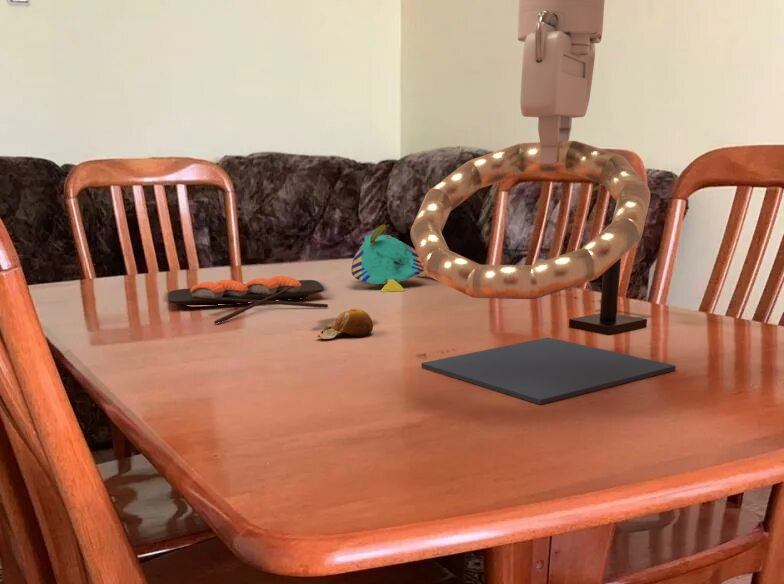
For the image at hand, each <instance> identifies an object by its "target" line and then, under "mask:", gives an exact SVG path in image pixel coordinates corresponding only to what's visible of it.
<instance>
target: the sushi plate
mask: <svg viewBox="0 0 784 584" xmlns="http://www.w3.org/2000/svg"><path fill="white" fill-rule="evenodd" d="M324 291H325V287H324V286H323V285H322V284H321V283H320V282H319V281H318V280H315V279H300V280H299V279H298V280H297V279H296V278H294V277H290V276H286V275H275V276H272V277H270V278H265V277H259V278H254V279H251V280H248V281H247V282H246V283H245V284H244V283H243V282H241V281H238V280H234V279H222V280H218V281H216V282H210V281H204V282H200V283H197V284H194V285H193V286H192V287H191V288H180V289H174V290H171V291H170V292H168V297H167V298H168V301H169V302H170V303H171V304H179V305H185V306H186V305H218V304H236V305H238V304H237V303H248V302H254V303H250V304H249V305H247V306H245V307H242V308H240V309H238V310H236V311H233V312H230V313H228V314H227V315H224V316H222V317H220V318H217V319H215V320H214V324H215V323H218V322H222V321H224V322H225V321H228V320H230V319H233V318H234V317H236V316H238V315H241V314H242V313H244V312H246V311H248V310H250V309H252V308H254V307H256V306H258V305H260V304H269V305H280V306H281V305H282V306H293V307H294V306H295V307H309V308H321V307H327V308H329V304H327V303H317V302H316V303H314V302H298V301H295V302H294V301H289V300H288V299H299V300H301V299H300V298H305V299H307V298H306V297H308V298H309V296H310V295H314V294H318V293H322V292H324ZM276 300H287V301H276ZM222 323H223V322H222Z"/></svg>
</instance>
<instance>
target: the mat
mask: <svg viewBox="0 0 784 584" xmlns="http://www.w3.org/2000/svg"><path fill="white" fill-rule="evenodd" d="M676 368H677V365H675V364H670V363H665V362H661V361H657V360H652V359H648V358H643V357H638V356H634V355H629V354H625V353H621V352H616V351H612V350H608V349H603V348H597V347H594V346H589V345H585V344H580V343H576V342H572V341H571V342H570V341H567V340H566V341H565V340H563V339H559V338H553V337H549V336H547V337H543V338H538V339H537V338H536V339H533V340H528V341H523V342H518V343H514V344H509V345H503V346H499V347H494V348H489V349H484V350H478V351H474V352H469V353H464V354H459V355H454V356H450V357H449V356H448V357H445V358H439V359H435V360H429V361H425V362H421V369H426V370H429V371H432V372H435V373H438V374H441V375H444V376H448V377H451V378H454V379H458V380H461V381H464V382H467V383H470V384H473V385H476V386H479V387H483V388H486V389H489V390H491V391H496V392H499V393H502V394H505V395H508V396H512V397H514V398H517V399H521V400H524V401H527V402H531V403H533V404H536V405H539V406H541V405H545V404H548V403H549V404H550V403H553V402H557V401H560V400H564V399H568V398H573V397H577V396H580V395H584V394H588V393H592V392H596V391H599V390H604V389H609V388H611V387H612V388H613V387H616V386H619V385H623V384H627V383H632V382H635V381H639V380H643V379H646V378H651V377H655V376H658V375H663V374H667V373H671V372H673V371H676Z"/></svg>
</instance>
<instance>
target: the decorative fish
mask: <svg viewBox="0 0 784 584" xmlns="http://www.w3.org/2000/svg"><path fill="white" fill-rule="evenodd" d="M386 228H387V225H386V224H380V225H379V226H378V227H376V228H375V230H374V231H373V232H372V234H366V235H365V236H364V239H363V240H364V242H363V244H361V246H359V248H358V250H357V251H356V253H355V255H354V257H353V259H352V263H351V275H352V276H353V277H354V279H356V280H358V281H359V282H364V283H369V284H376V285H383V284H385V285H383V287H382V288H381V290H380V292H381V293H387V292H388V293H389V292H404V291H406V290H405V289H404V287H403V286H402V285H401V284H400V283H401V282H403V281H406V280H408V279H411V278H414V277H417V276H418V275H421V274H422V273H423V272H425V271H424V268H423V266H422V264H421V261H420V259H419V256H418V254H417V252H416V249H415V248H413V247H412V246H409V245H408V244H407V243H405V242H403V241H401V240H399V239H397V238H395V237H392V236H391V235H389V234H385V235H382V233H383V232H384V231H385V230H386Z"/></svg>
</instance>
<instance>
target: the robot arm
mask: <svg viewBox="0 0 784 584" xmlns="http://www.w3.org/2000/svg"><path fill="white" fill-rule="evenodd" d="M605 1H606V0H518V14H517V40H518V42H523V43H524V44H523V51H522V52H523V54H522V64H521V79H520V95H519V103H520V105H519V106H520V111H521V115H522V116H523V117H525V118H526V117H527V118H538V123H537V125H538V126H537V130H538V131H537V132H538V138H539V142H540V145H541V159H540V161H541V163H542V164H555V163H557V162H558V161H559V151H560V146H559V141H570V136H571V132H572V123H573V121H572V120H573V119H574V118H575V119H576V118H583V117H585V116H586V114H587V111H588V107H589V103H590V98H591V90H592V84H593V75H594V68H595V59H596V58H595V57H596V45H595V44H600V43H601V41H602V39H603V38H602V37H603V33H604V32H603V31H604V30H603V29H604V13H605Z"/></svg>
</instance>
